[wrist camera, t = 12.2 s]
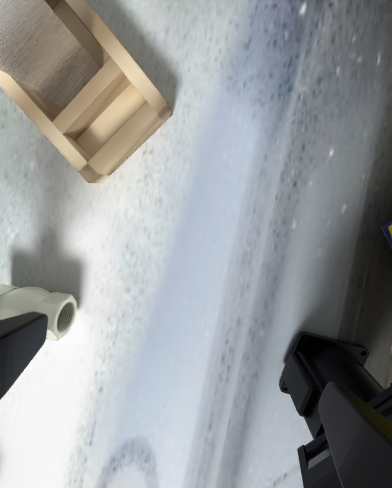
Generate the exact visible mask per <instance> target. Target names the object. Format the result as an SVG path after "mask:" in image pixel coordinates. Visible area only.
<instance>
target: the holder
mask: <svg viewBox="0 0 392 488" xmlns="http://www.w3.org/2000/svg"><path fill="white" fill-rule="evenodd" d="M45 2H46V3H47V4H48V5H49V6H50V8H51V9H52V10H53V11H54V12H55V14H56V15H57V16H58V17H59V18H60V20H61V21H62V22H63V23H64V25H65V26H66V27H67V28H68V29H69V31H70V32H71V33H72V34H73V35H74V37H75V38H76V39H77V40H78V41H79V43H80V44H81V45H82V46H83V48H84V49H85V50H86V51H87V52H88V54H89V55H90V56H91V57H92V58H93V60H94V61H95V62H96V63H97V65H98V66H99V67H100V68H101V69H100V70H99V71H98V72H97V74H96V75H95V76H94V77H93V78H92V79H91V80H90V81H89V82H88V83H87V85H86V86H85V87H84V88H83V89H82V90H81V91H80V92H79V93H78V94H77V96H76V97H75V98H74V99H73V100H72V101H71V102H70V103H69V104H68V105H67V106H66V108H65V109H64V108H62V107H61V106H59V105H58V104H56V103H54V102H53V101H51V100H49V99H48V98H46V97H44V96H43V95H41V94H39V93H38V92H36V91H35V90H33V89H31V88H30V87H28V86H26V85H25V84H23V83H21V82H20V81H18V80H16V79H15V78H13V77H11V76H10V75H8V74H7V73H5V72H3V71H2V70H0V86H1V87H2V88H3V90H4V91H5V92H6V93H7V94H8V95H9V96H10V97H11V98H12V99H13V101H14V102H15V103H16V104H17V105H18V106H19V107H20V108H21V109H22V111H23V112H24V113H25V114H26V115H27V116H28V117H29V118H30V119H31V120H32V122H33V123H34V124H35V125H36V126H37V127H38V128H39V129H40V130H41V131H42V133H43V134H44V135H45V136H46V137H47V138H48V139H49V140H50V141H51V142H52V144H53V145H54V146H55V147H56V148H57V149H58V150H59V151H60V152H61V154H62V155H63V156H64V157H65V158H66V159H67V160H68V161H69V162H70V163H71V165H72V166H73V167H74V168H75V169H76V170H77V171H78V172H79V173H80V174H81V176H82V177H83V178H84V179H85V180H86V181H87V182H88V183H97V184H102V183H103V182H104V181H105V180H106V179H107V178H108V177H109V176H110V175H111V174H112V173H113V172H114V171H115V170H116V169H117V168H118V167H119V166H120V165H121V164H122V163H123V162H124V161H125V160H126V159H127V158H128V157H129V156H131V155H132V154H133V153H134V152H135V151H136V150H137V149H138V148H139V147H140V146H141V145H142V144H143V143H144V142H145V141H146V140H147V139H148V138H149V137H150V136H151V135H152V134H153V133H154V132H155V131H156V130H157V129H158V128H159V127H160V126H161V125H162V124H163V123H164V122H165V121H166V120H168V119H169V118H170V117H171V116H172V115H173V114H172V111H171V109H170V107H169V104H168V102H167V101H166V100H165V99H164V97H163V96H162V95H161V94H160V92H159V91H158V90H157V89H156V87H155V86H154V85H153V84H152V82H151V81H150V80H149V79H148V77H147V76H146V75H145V74H144V72H143V71H142V70H141V68H140V67H139V66H138V65H137V63H136V62H135V61H134V60H133V58H132V57H131V56H130V55H129V53H128V52H127V51H126V50H125V48H124V47H123V46H122V45H121V43H120V42H119V41H118V40H117V38H116V37H115V36H114V35H113V33H112V32H111V31H110V30H109V28H108V27H107V26H106V24H105V23H104V22H103V21H102V19H101V18H100V17H99V16H98V14H97V13H96V12H95V11H94V9H93V8H92V7H91V6H90V4H89V3H88V2H87V1H86V0H45Z"/></svg>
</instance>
